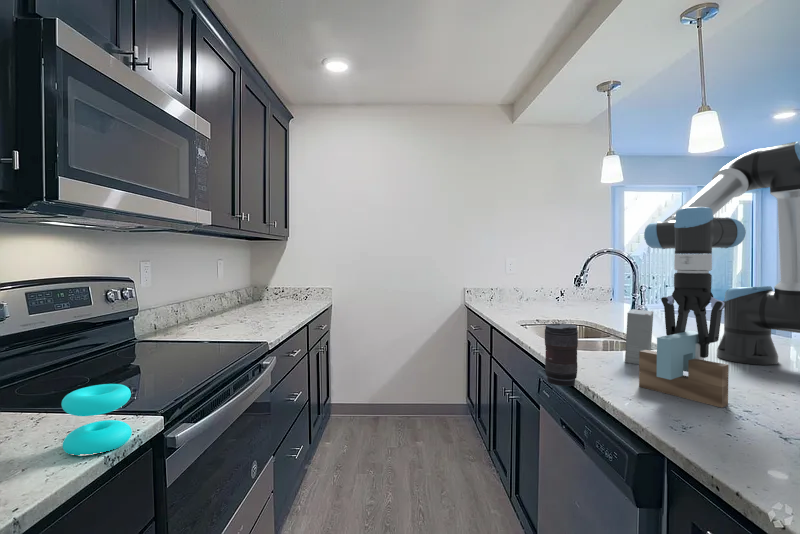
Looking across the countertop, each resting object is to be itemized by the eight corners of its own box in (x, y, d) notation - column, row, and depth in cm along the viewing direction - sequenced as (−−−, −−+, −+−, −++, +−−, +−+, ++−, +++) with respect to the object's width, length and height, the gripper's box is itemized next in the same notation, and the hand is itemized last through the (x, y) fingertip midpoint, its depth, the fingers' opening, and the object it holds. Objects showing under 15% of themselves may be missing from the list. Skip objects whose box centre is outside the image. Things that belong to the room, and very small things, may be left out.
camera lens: (537, 380, 115) (538, 324, 115) (561, 376, 118) (561, 322, 118) (560, 388, 108) (560, 329, 107) (584, 385, 111) (585, 326, 111)
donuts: (107, 399, 71) (45, 399, 71) (108, 459, 72) (47, 460, 71) (142, 381, 81) (88, 382, 81) (143, 434, 82) (89, 434, 81)
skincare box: (628, 357, 140) (628, 308, 140) (653, 360, 136) (654, 310, 136) (623, 362, 134) (624, 311, 133) (650, 366, 129) (651, 313, 129)
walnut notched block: (645, 384, 111) (645, 349, 111) (728, 405, 96) (728, 364, 96) (639, 386, 109) (639, 351, 109) (721, 407, 94) (722, 366, 94)
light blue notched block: (690, 366, 108) (690, 330, 108) (703, 369, 106) (704, 332, 105) (656, 376, 99) (657, 337, 99) (670, 379, 97) (670, 339, 97)
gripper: (650, 271, 109) (648, 363, 110) (724, 273, 96) (722, 379, 96) (665, 270, 113) (664, 360, 114) (739, 272, 100) (737, 374, 100)
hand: (690, 368), depth 105 cm, fingers closed on light blue notched block, 3 cm apart
